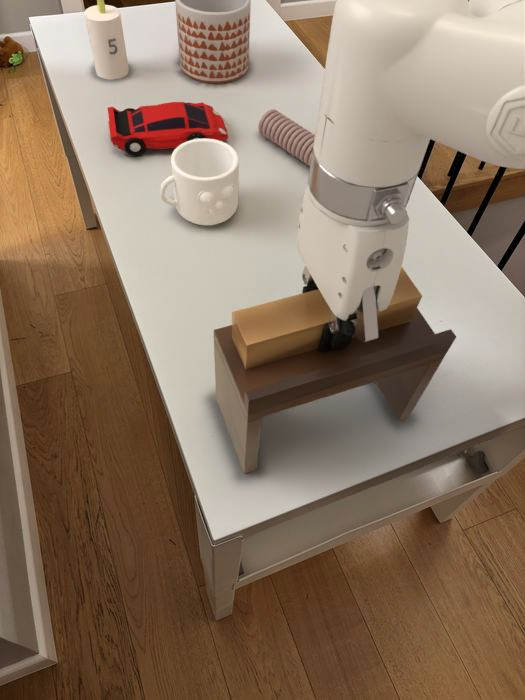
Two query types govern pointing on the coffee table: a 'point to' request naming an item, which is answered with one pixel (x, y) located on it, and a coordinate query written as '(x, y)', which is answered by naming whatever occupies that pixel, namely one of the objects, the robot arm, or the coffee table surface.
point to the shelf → (324, 377)
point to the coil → (287, 135)
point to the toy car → (164, 126)
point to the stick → (305, 323)
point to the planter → (213, 38)
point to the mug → (204, 181)
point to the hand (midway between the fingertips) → (323, 327)
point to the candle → (106, 41)
